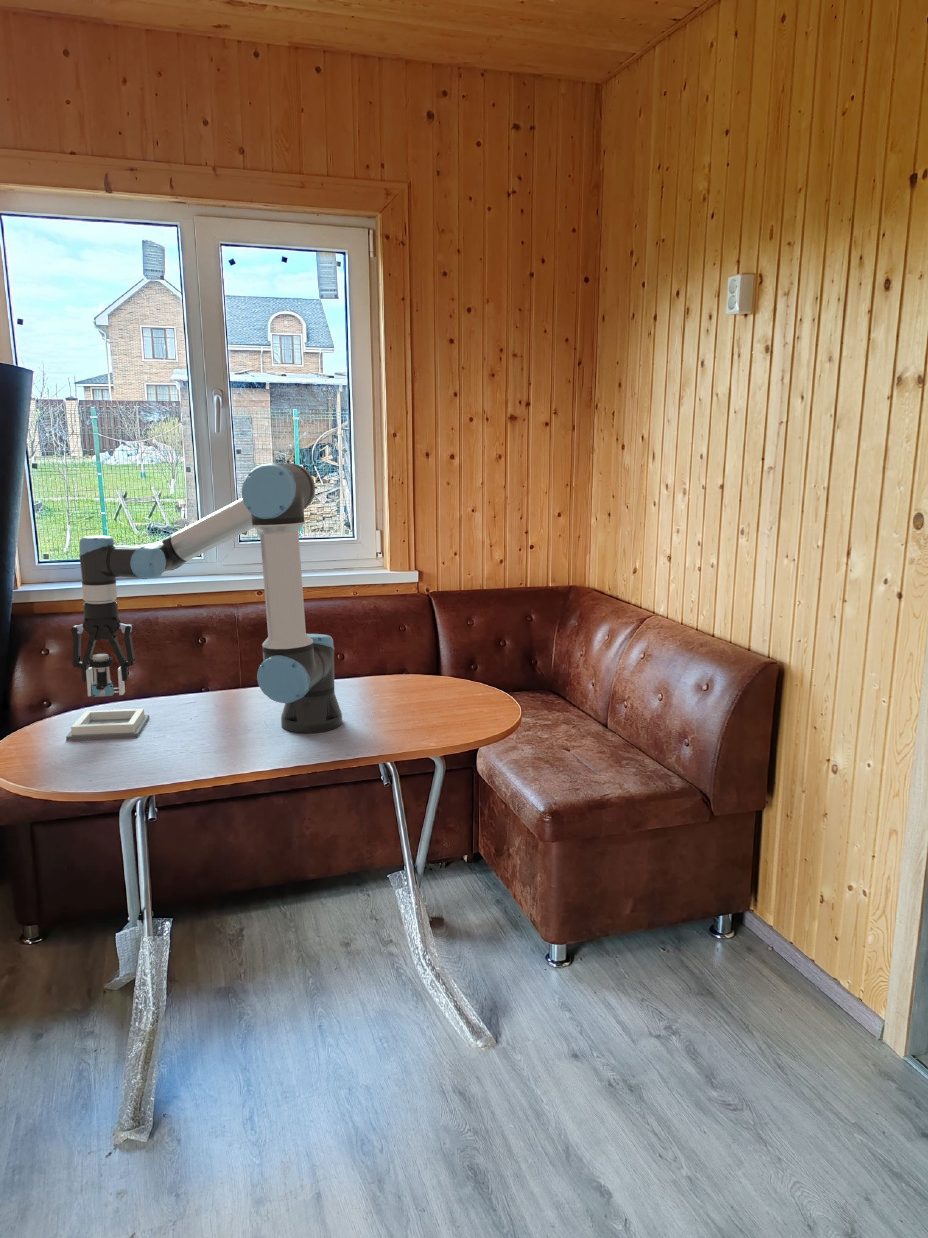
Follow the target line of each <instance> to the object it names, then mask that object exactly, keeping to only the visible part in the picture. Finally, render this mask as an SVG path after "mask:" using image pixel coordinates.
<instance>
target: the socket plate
mask: <svg viewBox="0 0 928 1238" xmlns="http://www.w3.org/2000/svg"><path fill="white" fill-rule="evenodd" d="M149 720H150V714H145V709H144V708H130V709H129V708H127V709H104V710H103V709H101V710H100V709H99V710H97V709H96V710H85V711H84V712H83V713H82V714H81V716H79V717H78V718H77V719H76V721H75V722H74V723H73V724H72V725H71V726H70V732H69V733H68V734H67V735H66V736H65V738H66V741H67V742H68V741H70V742H71V741H86V740H87V741H89V740H110V739H111V740H112V739H131V738H132V739H133V738H135V739H137V738H139V736H140V734H141V733H142V731H143V730H144V728H145V727H146V725H147V723H148V722H149Z"/></svg>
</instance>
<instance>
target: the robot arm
mask: <svg viewBox="0 0 928 1238" xmlns="http://www.w3.org/2000/svg"><path fill="white" fill-rule="evenodd" d="M241 485H242V486H241V498H239V499H237V500H235V501H233V502H231V503H230V504H228V505H226V506H223V507H222V508H220V509H218V510H216V511H214V512H212V513H211V514H208V515H206V516H205V517H203V518H200V519H199V520H197V521H195V522H194V523H191V524H189V525H188V526H185V527H184V528H181V529H180V530H177V531H176V532H174V533H172V534H170V535H168V536H166V537H164V538H162V539H161V540H158V541H155V542H153V541H152V542H150V543H149V542H148V543H143V544H138V545H117V544H115V542H114V538H113V537H112V536H111V535H87V536H82V537H81V538H80V539H79V555H78V557H79V563H80V564H79V565H80V572H81V573H80V574H81V589H82V600H83V601H84V603H83V606H82V607H83V616H84V617H83V618H84V619H83V623H81V624H79V625H77V624H75V625H73V626H72V627H71V628H70V631H71V634H72V638H73V639H72V641H73V642H72V643H73V645H72V666H73V667H74V668H78V669H80V670H81V677H82V678H81V680H82V682H83V683H86V688H87V690H86V691H87V697H93V695H92V686H93V682H94V671H93V667H90V663H89V660H90V659H92V656H93V653H94V649H95V646H96V642H97V641H99V640H106V641H107V640H108V641H107V642H108V643H109V644H110V645H111V648H112V649H113V650H112V651H113V652H114V654H115V657H116V659H117V661H118V663H119V667H118V668H117V678H118V688H119V689H118V691H119V692H118V696H124V694H125V693H126V687H125V682H126V681H127V680H129V667H131V666H133V665H135V663H136V654H135V649H134V643H133V636H132V630H133V627H134V626H133V624H132V623H129V624H125V623H122V622H121V621H120V619H119V607H118V602H117V601H116V599H117V598H118V594H117V593H118V591H117V589H118V588H117V580H116V579H117V578H131V579H143V580H148V579H158V578H160V577H161V576H162V574H163V573H164V572H168V571H174V570H177V569H179V568H180V567H182V566H183V565H185V563H187V562H189V561H190V560H192V559H194V558H196V557H198V556H200V555H202V554H204V553H206V552H209V551H211V550H212V549H215V548H216V547H219V546H220V545H222V544H224V543H226V542H228V541H230V540H232V539H234V538H236V537H238V536H240V535H243V534H244V533H246V532H248V531H250V530H252V529H255V530H256V531H257V532H258V533H259V539H260V552H261V562H262V563H261V564H262V577H263V589H264V590H263V591H264V599H265V600H264V601H265V613H266V623H267V624H266V627H267V638H266V639H265V640H264V641H263V642H262V644H261V645H262V659H263V661H262V662H261V664H260V665H259V667H258V670H257V672H256V673H257V675H256V677H257V678H256V680H257V685H258V687H259V688H260V690H261V692H262V693H263V694H264V695H265V696H266V697H268V699H270V700H272V702H276V703H280V704H281V703H282V704H284V706H283V709H282V712H281V716H280V717H281V718H280V726H281V728H283V729H284V730H286V731H289V732H294V733H301V734H304V733H306V734H309V733H311V734H312V733H313V734H314V733H324V732H326V731H327V732H328V731H331V730H334V729H337V728H339V727H340V726H341V725H342V724H343V713H342V710H341V707H340V705H339V702H338V699H337V696H336V694H335V693H336V692H335V647H334V639H333V637H332V636H331V635H328V634H323V633H322V634H321V633H320V634H319V633H307V630H306V616H305V615H306V614H305V603H304V588H303V578H302V577H303V575H302V565H301V564H302V563H301V549H300V535H299V531H300V529H301V528H302V527H303V526H304V524H305V509H307V508H308V507H310V505H311V503H312V502H313V500H314V498H315V493H316V484H315V481H314V478H313V476H312V474H310V472H309V471H308V470H307V469H306V468H304V466H301V465H299V464H297V463H291V462H290V463H277V462H276V463H275V462H269V463H264V464H261V465H258V466H256V467H255V468H253V469H251V471H249V472H248V474H247V475H246V476H245V478H244V480H243V482H242V484H241ZM119 630H121V633H122V634H123V639H124V645H125V646H124V647H125V651H126V655H125V653H124V651H123V649H122V647H121V644H120V642H119V640H118V636H117V634H116V633H117V632H118V631H119ZM83 631H85V632H86V633H87V634H88V635H89V638H88V641H87V645H86V648H85V652H84V655H83V658H82V633H84V632H83ZM126 657H127V658H126Z"/></svg>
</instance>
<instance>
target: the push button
mask: <svg viewBox="0 0 928 1238" xmlns="http://www.w3.org/2000/svg"><path fill="white" fill-rule="evenodd" d="M112 665H113V657H111V656H109V654H108V653H97V654H92V656H91V659H90V660H89V667H92V671H93V686H92V697H93V698H96V697H97V698H98V697H110V696H111V697H112V696H114V694H117V693H119V687H114V683H113V682H112V680H111V672H110V666H112ZM116 690H117V691H116Z"/></svg>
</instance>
